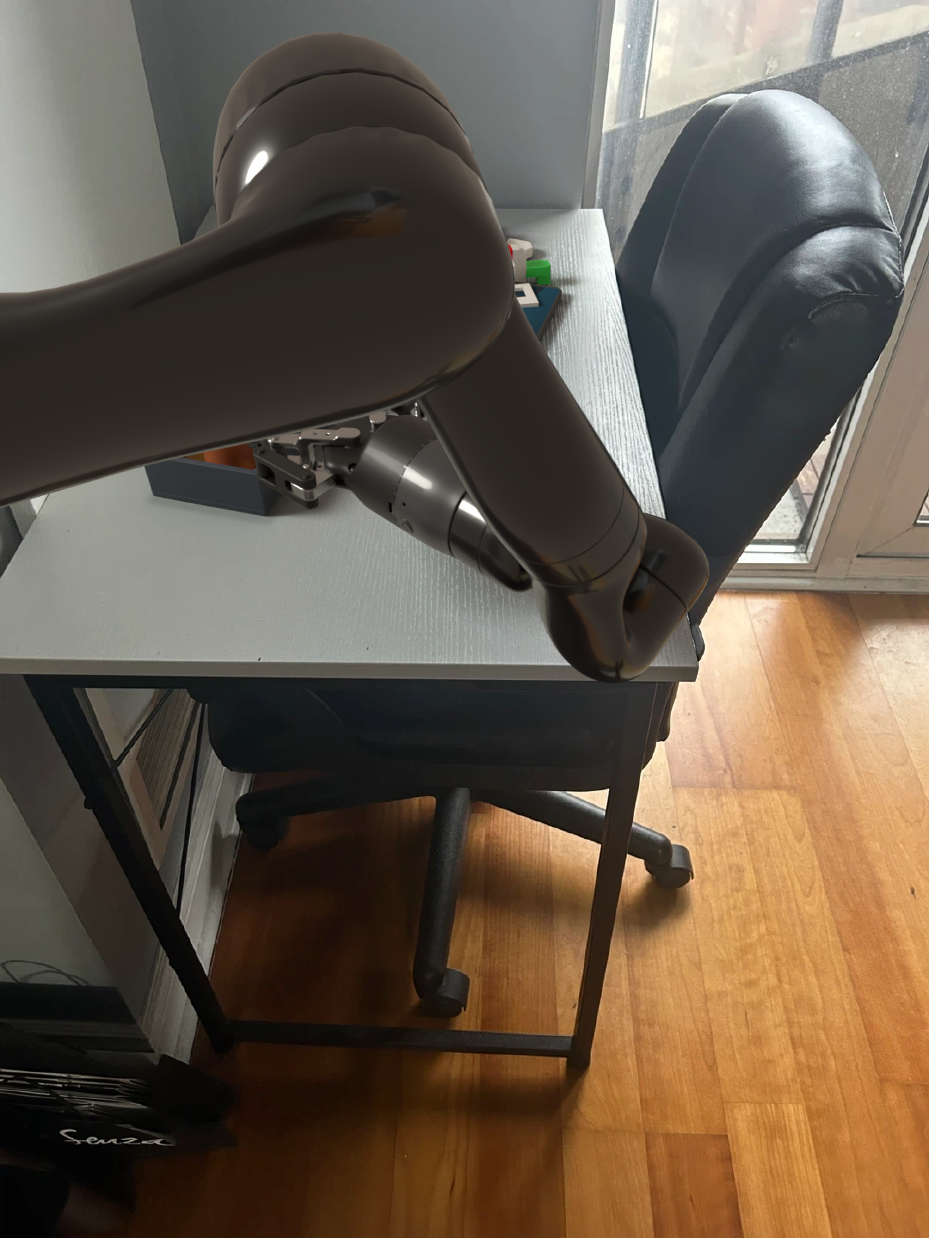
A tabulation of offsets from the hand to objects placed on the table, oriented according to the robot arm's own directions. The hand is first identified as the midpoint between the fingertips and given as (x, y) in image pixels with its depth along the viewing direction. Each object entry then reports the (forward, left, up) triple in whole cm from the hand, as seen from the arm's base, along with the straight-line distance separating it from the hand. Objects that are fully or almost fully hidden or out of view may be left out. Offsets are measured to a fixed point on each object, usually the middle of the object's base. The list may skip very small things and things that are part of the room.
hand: (290, 403), depth 74 cm
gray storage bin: (+16, +10, -12) cm, 22 cm away
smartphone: (+40, -8, -12) cm, 42 cm away
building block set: (+50, +2, -12) cm, 51 cm away
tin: (+5, +10, -11) cm, 15 cm away
